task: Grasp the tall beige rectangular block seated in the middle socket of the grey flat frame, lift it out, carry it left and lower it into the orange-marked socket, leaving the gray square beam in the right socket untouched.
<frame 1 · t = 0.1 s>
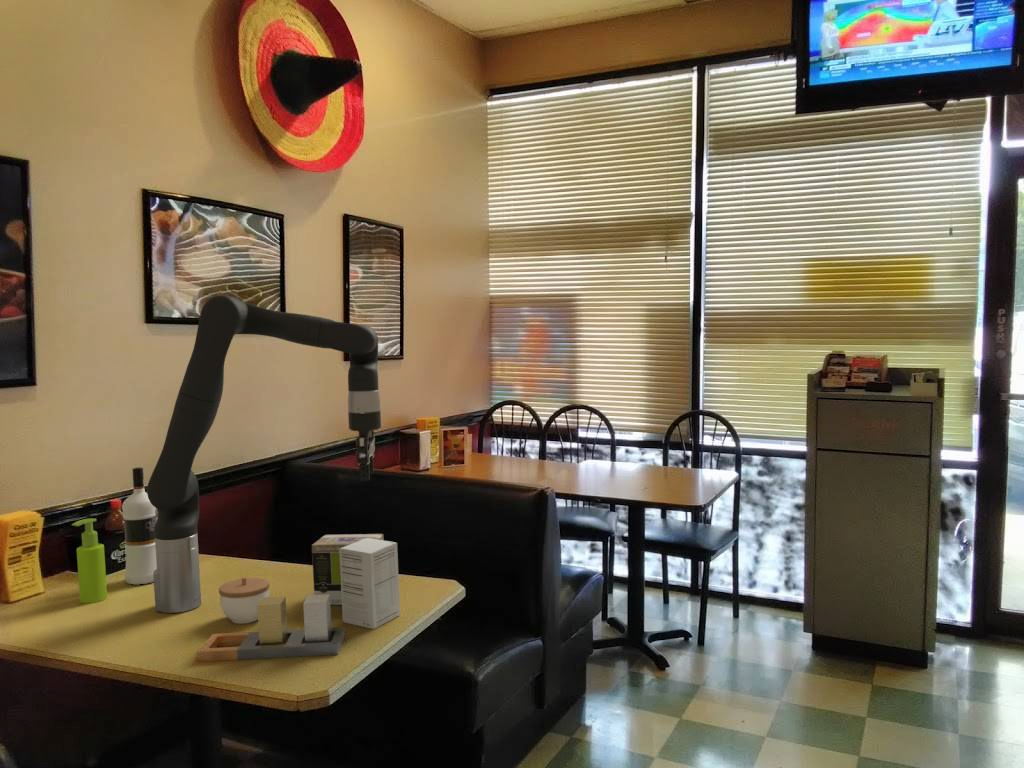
hand: (366, 477, 183), 29 cm above the table, fingers open, 8 cm apart
gray square beam: (319, 646, 157), resting in grey flat frame
lidded jar: (246, 619, 174), on the table
soap dispenser: (91, 600, 189), on the table
supplement box: (371, 619, 172), on the table
beige rectangular block: (272, 624, 156), in the grey flat frame
tea box: (351, 599, 185), on the table
grey flat frame: (274, 648, 156), on the table
vodka: (144, 580, 203), on the table
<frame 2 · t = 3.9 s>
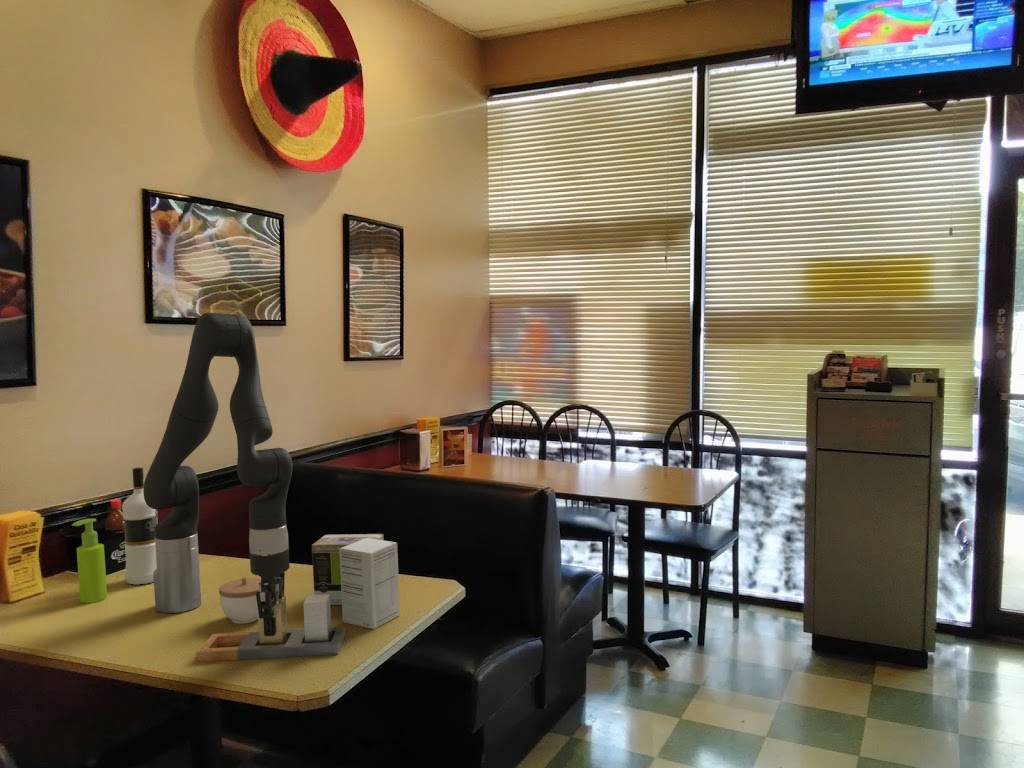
hand: (273, 630, 156), 4 cm above the table, fingers closed on beige rectangular block, 4 cm apart
beige rectangular block: (272, 624, 156), in the grey flat frame, touching gripper
everything else where it was.
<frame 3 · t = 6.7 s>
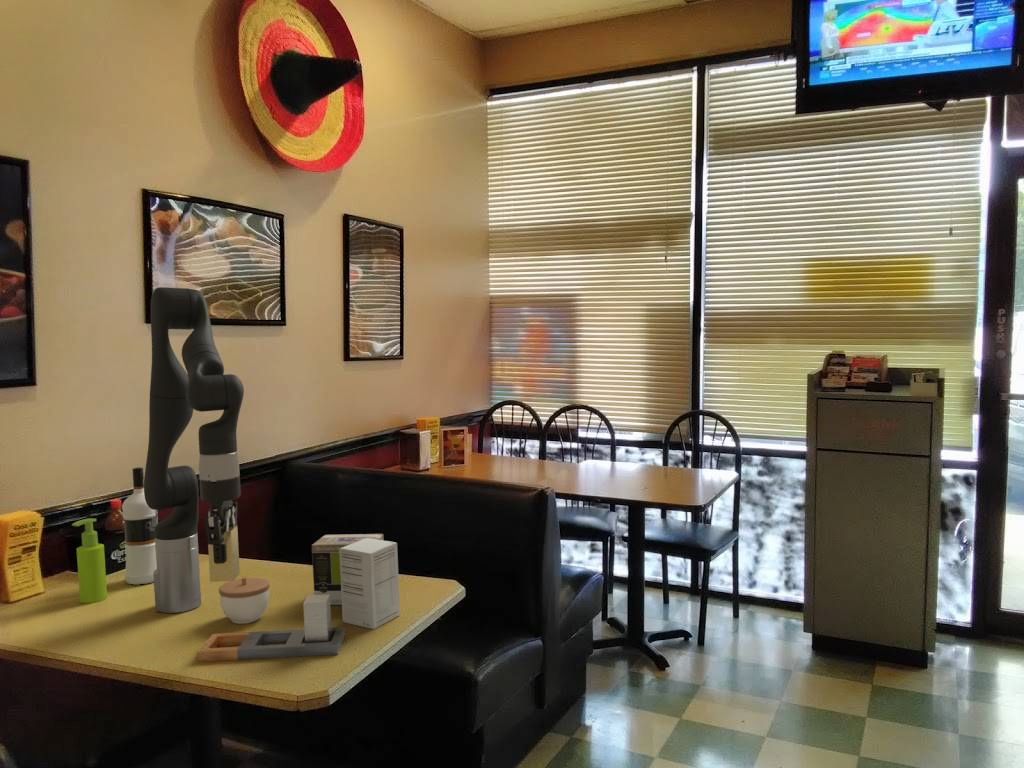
hand: (224, 558, 155), 19 cm above the table, fingers closed on beige rectangular block, 4 cm apart
beige rectangular block: (223, 553, 155), point 20 cm above the table, touching gripper
everything else where it was.
when the fingers open (5 cm above the table, at t = 9.7 s): beige rectangular block stays where it is, resting in grey flat frame.
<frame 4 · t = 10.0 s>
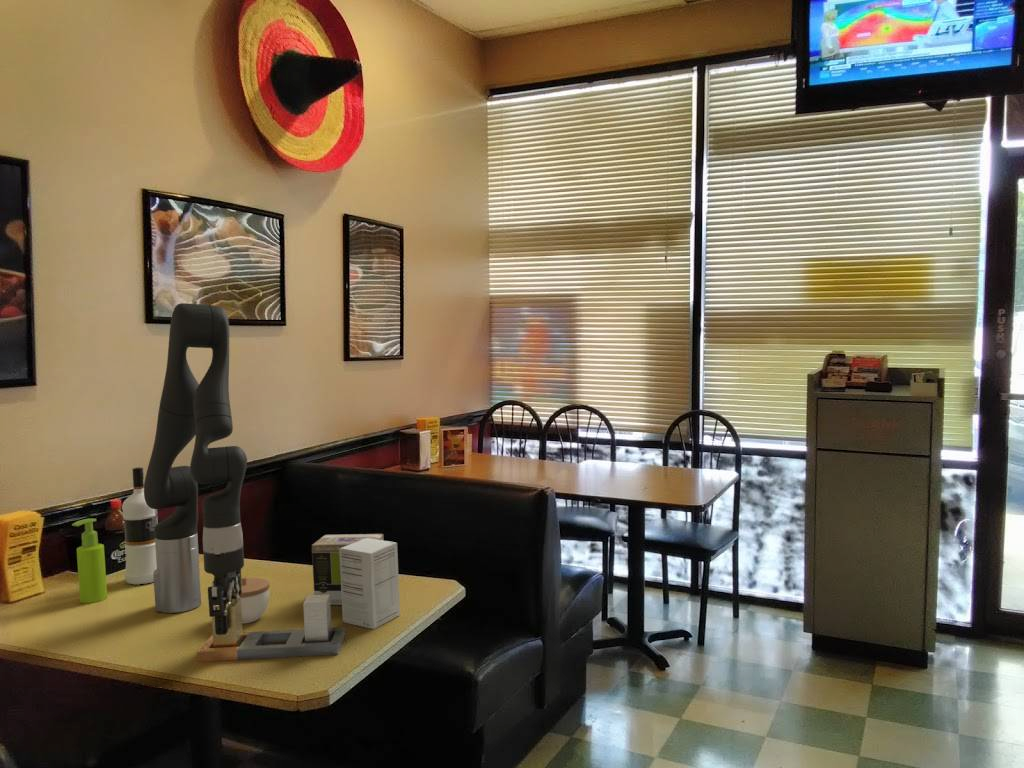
hand: (227, 626, 155), 5 cm above the table, fingers open, 7 cm apart
beige rectangular block: (227, 627, 156), in the grey flat frame
everything else where it was.
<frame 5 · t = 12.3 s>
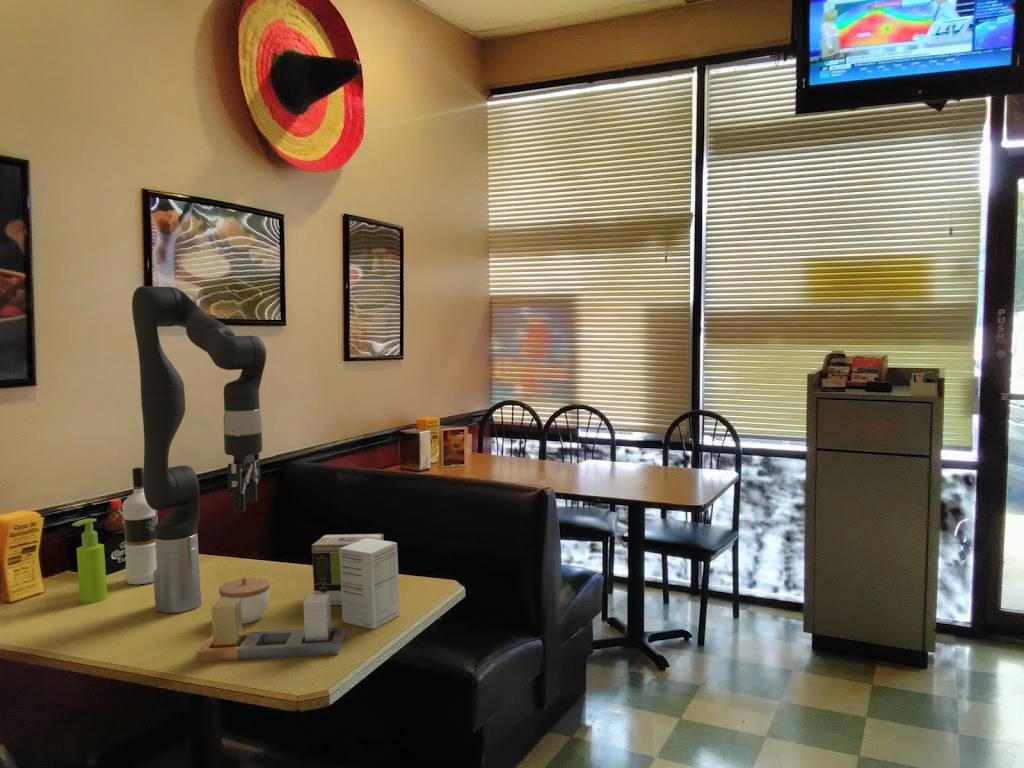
hand: (245, 506, 163), 27 cm above the table, fingers open, 8 cm apart
nothing on the table moved.
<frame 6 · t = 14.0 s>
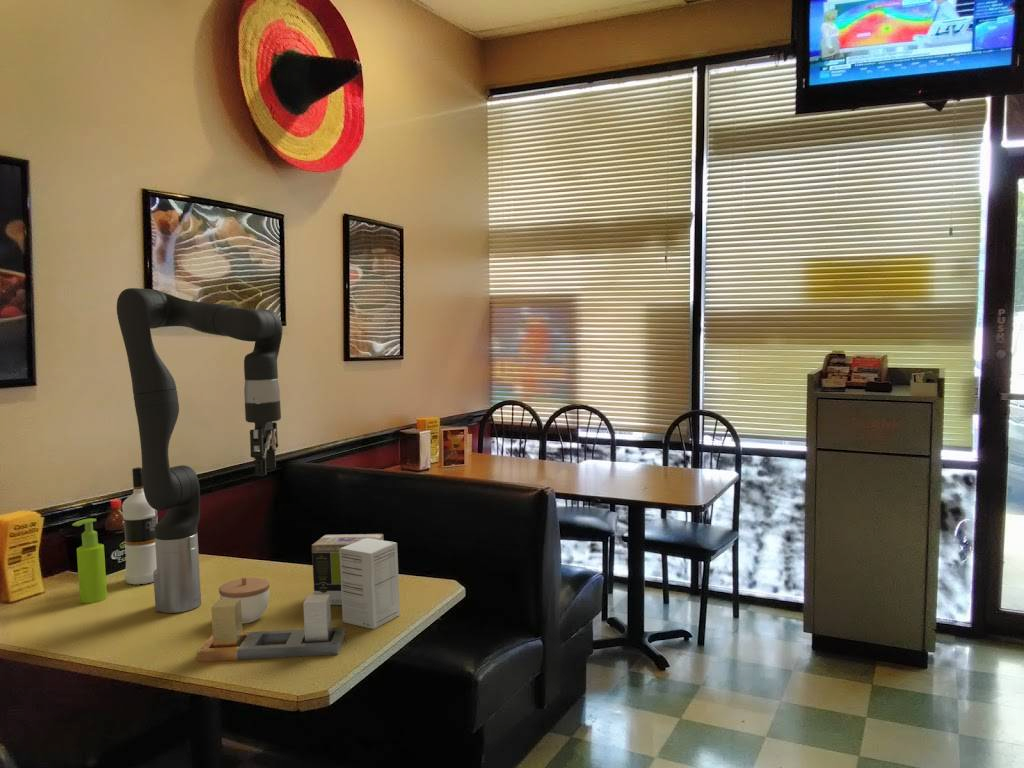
hand: (266, 472, 172), 33 cm above the table, fingers open, 8 cm apart
nothing on the table moved.
at the end: beige rectangular block 0.0 cm from the target spot on the grey flat frame, point 5.0 cm above the grey flat frame's base; beige rectangular block tilted 0°; the gripper is holding nothing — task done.
